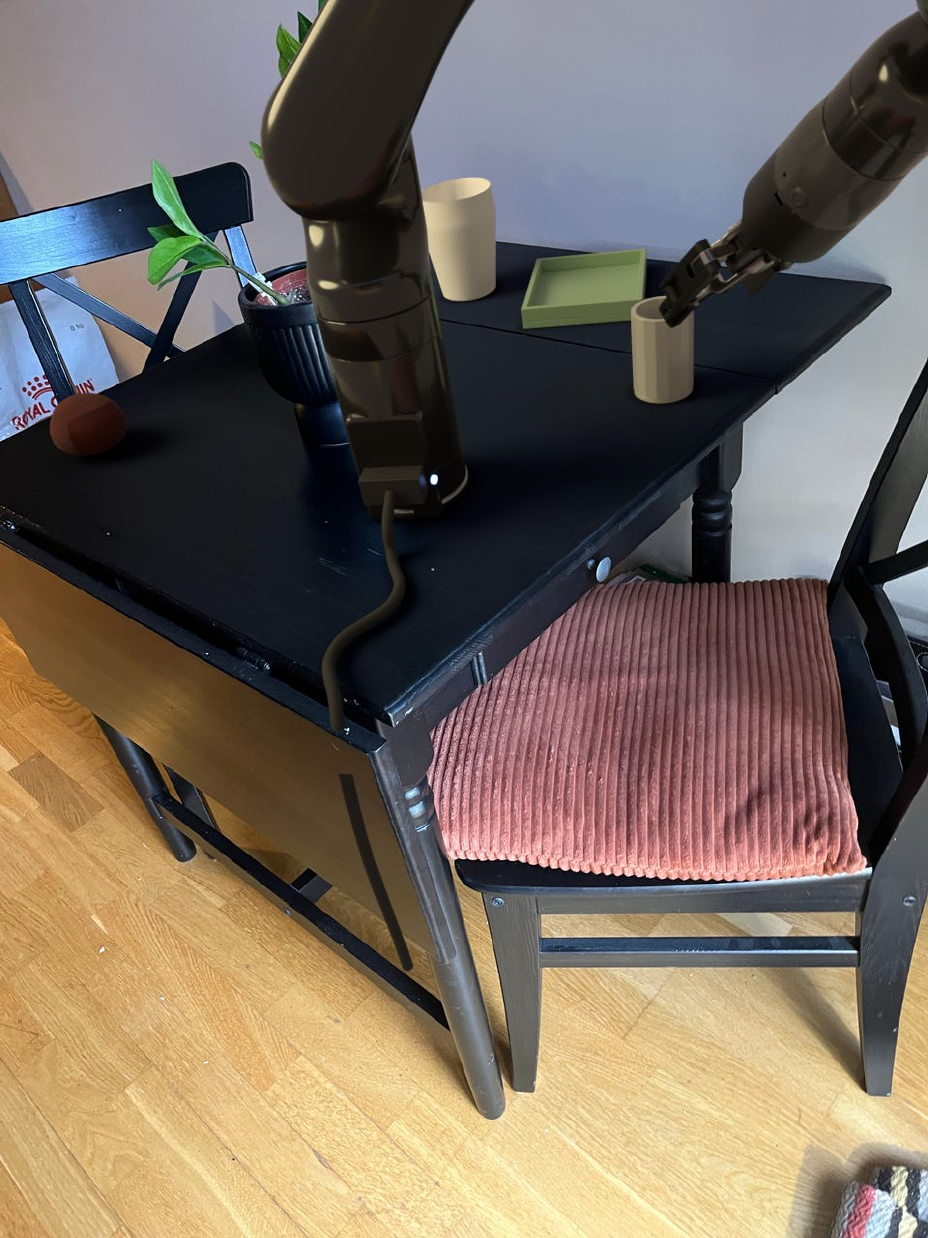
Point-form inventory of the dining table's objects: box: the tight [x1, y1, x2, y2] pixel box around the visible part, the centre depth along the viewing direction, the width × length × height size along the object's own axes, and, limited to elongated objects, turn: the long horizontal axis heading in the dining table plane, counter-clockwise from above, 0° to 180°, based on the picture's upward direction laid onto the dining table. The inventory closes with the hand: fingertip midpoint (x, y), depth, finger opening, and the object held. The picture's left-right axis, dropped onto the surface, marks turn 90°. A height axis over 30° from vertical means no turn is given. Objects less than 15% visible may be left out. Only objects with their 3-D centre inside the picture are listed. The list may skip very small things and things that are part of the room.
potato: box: [49, 392, 127, 457], centre depth 95 cm, size 7×8×6 cm
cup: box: [421, 177, 497, 302], centre depth 110 cm, size 9×9×12 cm
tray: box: [520, 248, 648, 330], centre depth 106 cm, size 15×13×2 cm
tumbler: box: [630, 295, 695, 404], centre depth 85 cm, size 6×6×8 cm
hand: (707, 300), depth 77 cm, fingers open, 8 cm apart
